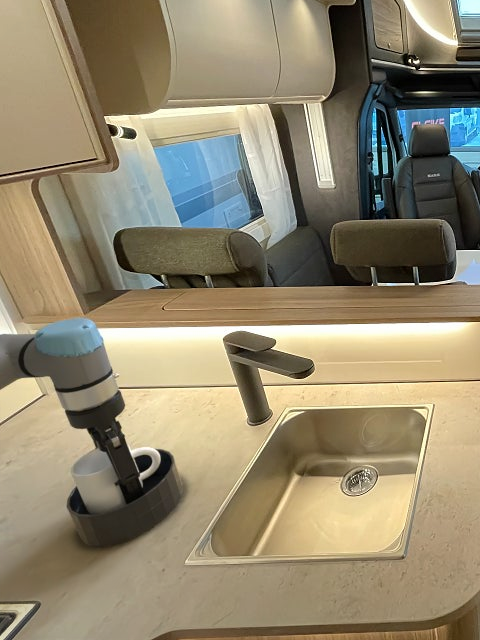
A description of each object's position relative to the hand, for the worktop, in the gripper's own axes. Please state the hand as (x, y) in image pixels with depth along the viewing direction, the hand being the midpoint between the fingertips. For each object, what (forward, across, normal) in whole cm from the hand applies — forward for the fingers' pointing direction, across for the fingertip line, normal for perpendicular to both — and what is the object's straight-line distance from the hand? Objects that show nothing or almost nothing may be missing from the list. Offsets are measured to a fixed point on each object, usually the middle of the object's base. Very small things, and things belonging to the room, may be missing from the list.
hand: (128, 490), depth 84 cm
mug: (0, 0, 0) cm, 1 cm away
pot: (+5, 0, 0) cm, 5 cm away
